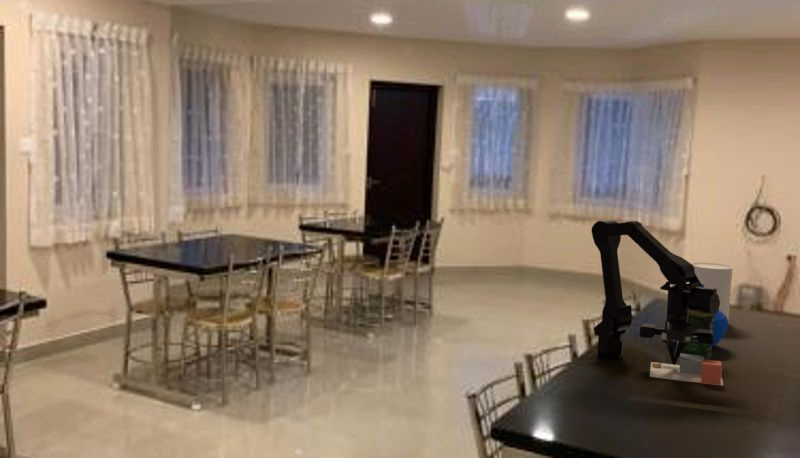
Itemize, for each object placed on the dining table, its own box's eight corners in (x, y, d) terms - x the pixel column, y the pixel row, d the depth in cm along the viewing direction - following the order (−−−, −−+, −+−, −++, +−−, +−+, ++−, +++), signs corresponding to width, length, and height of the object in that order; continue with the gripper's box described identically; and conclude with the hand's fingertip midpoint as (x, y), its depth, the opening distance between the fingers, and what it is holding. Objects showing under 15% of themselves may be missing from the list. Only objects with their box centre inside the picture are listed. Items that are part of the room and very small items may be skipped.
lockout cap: (701, 382, 203) (702, 363, 202) (700, 377, 207) (702, 359, 206) (720, 384, 201) (721, 365, 201) (719, 380, 205) (720, 361, 205)
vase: (661, 347, 241) (665, 286, 238) (665, 334, 257) (669, 277, 255) (726, 355, 234) (731, 292, 232) (726, 341, 251) (730, 282, 248)
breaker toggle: (679, 371, 212) (680, 358, 211) (679, 365, 217) (680, 353, 217) (703, 374, 210) (704, 361, 209) (702, 368, 215) (703, 356, 215)
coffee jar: (705, 365, 222) (710, 301, 220) (676, 360, 227) (681, 297, 225) (714, 358, 230) (719, 296, 228) (686, 353, 235) (691, 292, 233)
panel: (649, 380, 207) (650, 369, 206) (651, 365, 221) (651, 355, 220) (723, 389, 201) (724, 377, 201) (720, 373, 215) (721, 362, 215)
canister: (734, 326, 272) (738, 269, 270) (695, 325, 272) (699, 268, 270) (719, 318, 285) (723, 263, 283) (681, 316, 285) (685, 262, 283)
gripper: (640, 310, 209) (636, 367, 210) (716, 317, 202) (711, 376, 204) (642, 302, 219) (638, 357, 221) (714, 309, 213) (710, 365, 215)
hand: (673, 364), depth 215 cm, fingers closed
